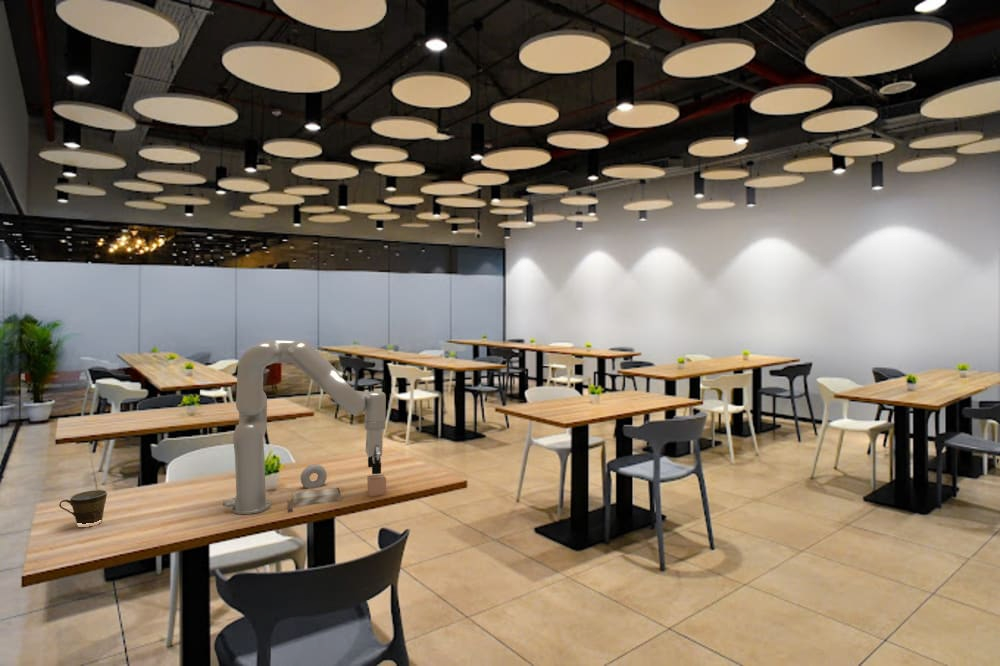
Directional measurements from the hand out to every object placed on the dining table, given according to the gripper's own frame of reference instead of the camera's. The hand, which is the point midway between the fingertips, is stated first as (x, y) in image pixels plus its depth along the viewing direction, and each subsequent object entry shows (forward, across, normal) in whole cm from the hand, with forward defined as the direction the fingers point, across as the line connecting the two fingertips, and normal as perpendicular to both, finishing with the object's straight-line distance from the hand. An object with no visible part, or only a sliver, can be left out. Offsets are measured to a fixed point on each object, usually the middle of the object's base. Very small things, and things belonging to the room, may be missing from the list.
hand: (374, 470), depth 217 cm
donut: (+11, -18, -20) cm, 29 cm away
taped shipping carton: (+9, 0, +1) cm, 9 cm away
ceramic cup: (+14, -9, -93) cm, 95 cm away
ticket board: (+10, 0, -12) cm, 16 cm away
